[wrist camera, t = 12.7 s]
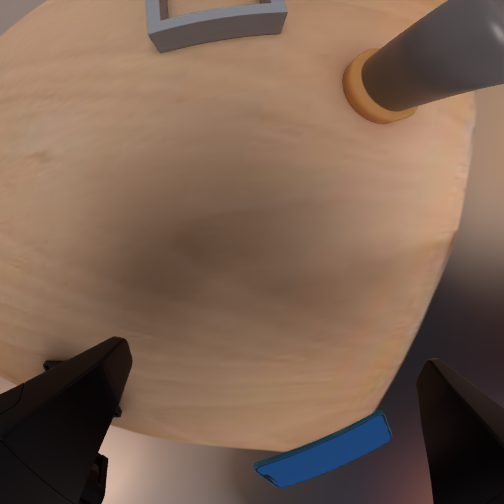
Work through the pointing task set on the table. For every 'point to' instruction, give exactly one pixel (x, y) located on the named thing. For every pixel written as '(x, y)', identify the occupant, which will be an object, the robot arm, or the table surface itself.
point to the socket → (212, 23)
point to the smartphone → (326, 452)
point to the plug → (430, 61)
